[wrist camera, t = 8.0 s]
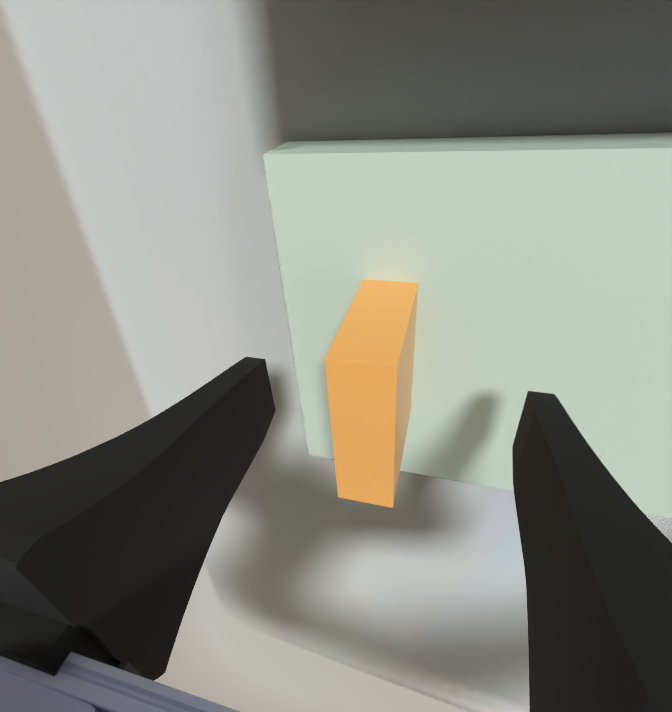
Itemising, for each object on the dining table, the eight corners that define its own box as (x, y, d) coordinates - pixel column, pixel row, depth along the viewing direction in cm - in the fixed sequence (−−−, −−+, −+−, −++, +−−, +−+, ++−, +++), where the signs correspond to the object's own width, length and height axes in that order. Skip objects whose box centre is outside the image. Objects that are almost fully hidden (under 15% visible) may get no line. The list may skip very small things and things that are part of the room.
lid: (1024, 124, 8) (1663, 219, 4) (731, 488, 15) (836, 673, 11) (287, 141, 12) (177, 199, 8) (321, 424, 19) (273, 541, 15)
